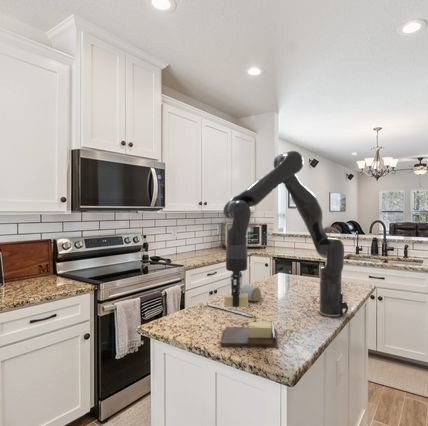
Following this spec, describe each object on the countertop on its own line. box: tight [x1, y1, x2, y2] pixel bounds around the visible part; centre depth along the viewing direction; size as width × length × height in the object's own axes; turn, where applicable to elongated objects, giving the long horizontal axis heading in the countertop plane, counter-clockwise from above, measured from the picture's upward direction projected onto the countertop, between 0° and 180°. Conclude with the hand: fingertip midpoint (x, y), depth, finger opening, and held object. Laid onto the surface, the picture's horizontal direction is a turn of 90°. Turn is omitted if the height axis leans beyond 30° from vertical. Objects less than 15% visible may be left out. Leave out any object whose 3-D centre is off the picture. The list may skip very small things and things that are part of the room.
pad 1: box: [223, 292, 249, 308], centre depth 107 cm, size 8×5×4 cm, turn 89°
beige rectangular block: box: [248, 321, 272, 338], centre depth 107 cm, size 8×5×4 cm, turn 89°
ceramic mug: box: [240, 283, 263, 303], centre depth 153 cm, size 11×8×8 cm
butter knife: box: [206, 303, 253, 317], centre depth 136 cm, size 1×27×3 cm
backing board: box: [220, 321, 276, 348], centre depth 107 cm, size 18×14×3 cm
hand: (236, 303), depth 107 cm, fingers closed on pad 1, 5 cm apart
